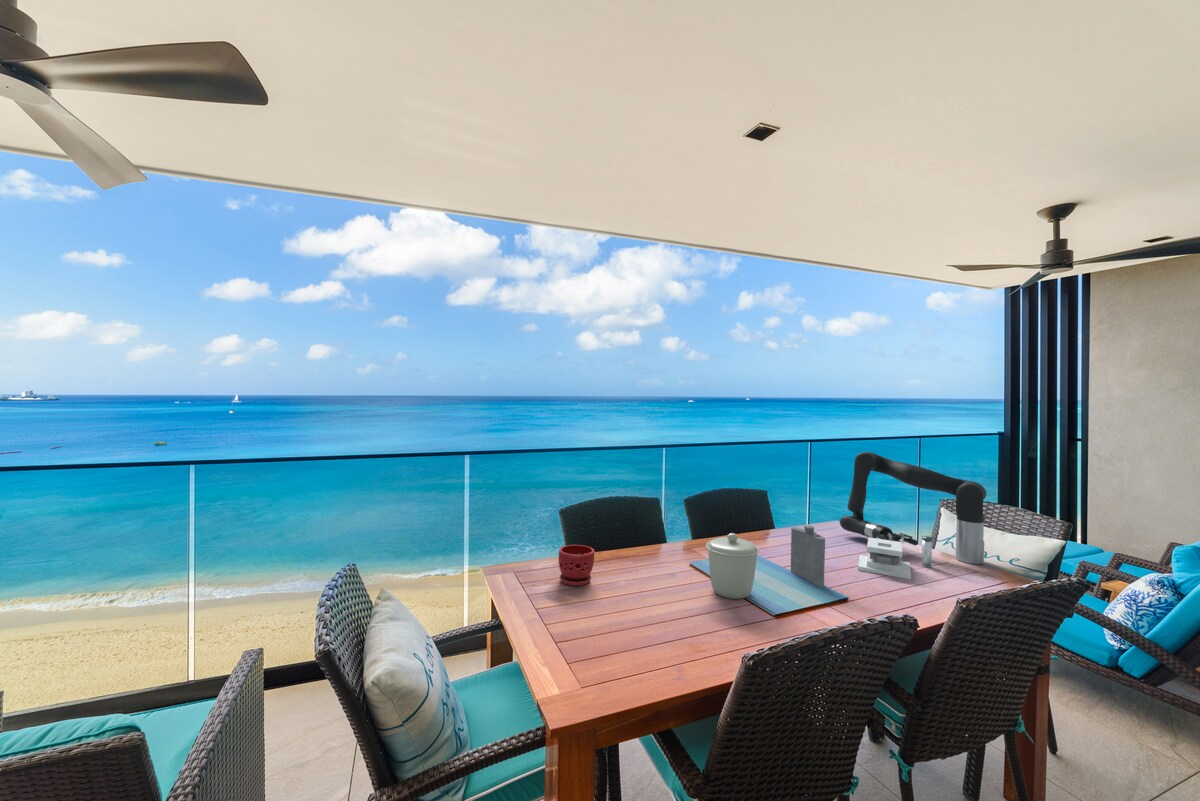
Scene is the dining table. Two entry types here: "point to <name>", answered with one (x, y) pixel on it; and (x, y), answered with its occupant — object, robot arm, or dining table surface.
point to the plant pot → (576, 564)
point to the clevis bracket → (884, 559)
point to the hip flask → (808, 554)
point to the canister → (732, 566)
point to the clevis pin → (927, 551)
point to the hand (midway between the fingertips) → (908, 543)
